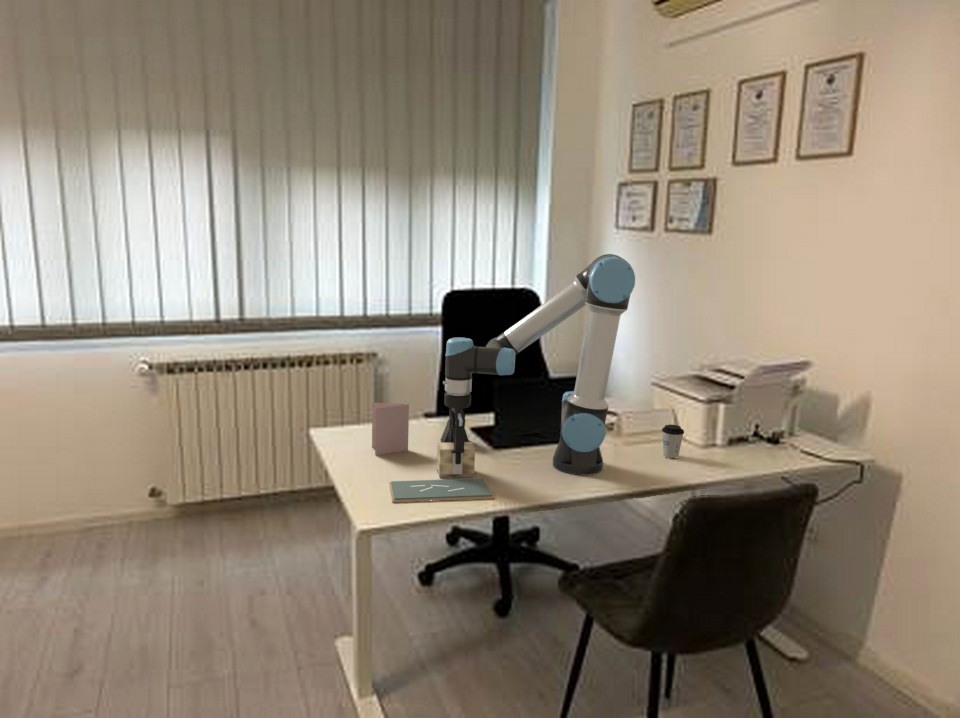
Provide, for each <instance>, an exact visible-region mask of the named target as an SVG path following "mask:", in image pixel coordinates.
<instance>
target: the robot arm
mask: <svg viewBox="0 0 960 718" xmlns="http://www.w3.org/2000/svg"><path fill="white" fill-rule="evenodd" d="M634 271H635V270H634V269H633V267H632V265H631V263H629V262H628V260H626V259H625V258H622V257H621V256H619V255H617V254H613V253H607V254H603V255H600V256H598V257H596V258H595V259H593V261H592V262H591V263H590V264H589V265H588V266H587V267H585V268H584V269H583V270H582V271H580V272H579V273H578V274H576V275H575V277H574V280H573V282H571V283H570V284H568V285H567V286H566V287H565V288H563V289H562V290H561V291H559V292H558V293H556V294H555V295H554V296H552V297H550V298H549V299H547V300H546V301H545V302H544V303H542V304H541V305H540V306H538V307H537V308H535V309H534V310H533V311H532V312H529V314H527V315H526V316H524V317H523V318H522V319H520V320H519V321H517V322H516V323H514V324H513V325H511V326H510V327H509V328H507V329H506V330H505V331H503V332H502V333H501V334H499V335H498V336H497V337H494V338H492V339H490V340H489V341H488V342H487V344H486V345H485V346H476V345H475V344H474V341H473V339H471V338H468V337H467V338H466V337H461V336H460V337H452V338H449V339H448V340H447V341H446V348H445V350H446V351H445V355H444V356H445V368H444V371H445V373H444V375H445V380H443V381H442V384H443V385H444V391H445V392H444V401H443V402H444V406H445V407H447V408H448V409H449V413H448V415H449V417H450V419H449V418H448V420H449V436H448V438H449V439H450V440H449V442H454V451H451V453H453V465H452V474H462V459H463V453H464V435H465V431H466V428H465V427H466V413H465V412H464V409H467V408H469V407H470V406H471V405H472V394H471V392H472V383H473V382H472V381H473V374H481V375H482V374H484V375H485V374H486V375H498V376H511V375H513V374H514V373H515V366H516V365H515V364H516V355H518V354H519V353H520V352H521V351H523V350H524V349H526V348H527V347H528V346H530V345H532V344H533V343H534V342H536V341H537V340H538V339H540V338H542V337H543V336H544V335H546V334H547V333H548V332H551V331H552V330H553V329H554V328H556V327H557V326H559V325H560V324H561V323H563V322H564V321H566V320H567V319H569V318H570V317H572V316H573V315H575V314H576V313H577V312H579V311H580V310H581V309H583V308H584V307H585V306H586V307H587V308H588V314H587V319H586V324H585V330H584V336H583V341H582V347H581V352H580V357H579V363H578V368H577V372H576V374H577V375H576V379H575V385H574V389H573V390H572V391H565V392H564V393H563V395H562V400H561V418H560V419H561V420H560V430H559V431H560V433H559V434H560V435H559V442H558V444H557V447H556V448H555V451H554V453H553V456H552V467H554V468H555V469H556V470H558V471H560V472H563V473H567V474H573V475H581V474H586V475H593V473H594V474H597V472H598V473H600V472H602V470H603V469H604V459H603V455H602V450H601V447H600V446H601V445H602V444H603V442H604V440H605V437H606V434H607V433H606V421H607V415H608V410H609V404H608V402H607V401H606V399H605V397H606V392H607V387H608V381H609V376H610V371H611V367H612V361H613V354H614V352H615V344H616V340H617V335H618V330H619V325H620V319H621V316H622V314H624V313H625V312H626V311H628V308H629V303H630V298H631V294H632V292H633V291H634V288H635V285H636V274H635V272H634ZM602 468H603V469H602ZM599 471H600V472H599Z"/></svg>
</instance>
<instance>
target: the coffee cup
mask: <svg viewBox="0 0 960 718" xmlns="http://www.w3.org/2000/svg"><path fill="white" fill-rule="evenodd" d="M661 431H662V454H663V455H662V456H663V457H664V456H665V457H668V458H676V457H678V458H679V455H680V452H681V451H680V449H681V447H682V446H681V445H682V440H683V436H684V434H685V430H684V429H683V428H682V427H681V425H677V424H665V425H664V427H662V429H661ZM665 457H664V458H665ZM668 458H667V459H668Z"/></svg>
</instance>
